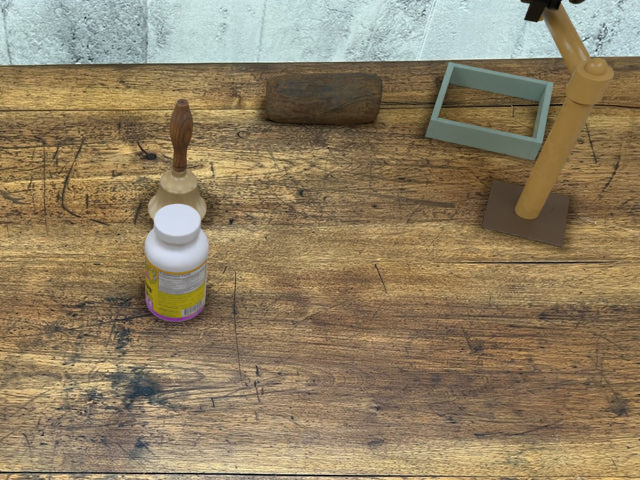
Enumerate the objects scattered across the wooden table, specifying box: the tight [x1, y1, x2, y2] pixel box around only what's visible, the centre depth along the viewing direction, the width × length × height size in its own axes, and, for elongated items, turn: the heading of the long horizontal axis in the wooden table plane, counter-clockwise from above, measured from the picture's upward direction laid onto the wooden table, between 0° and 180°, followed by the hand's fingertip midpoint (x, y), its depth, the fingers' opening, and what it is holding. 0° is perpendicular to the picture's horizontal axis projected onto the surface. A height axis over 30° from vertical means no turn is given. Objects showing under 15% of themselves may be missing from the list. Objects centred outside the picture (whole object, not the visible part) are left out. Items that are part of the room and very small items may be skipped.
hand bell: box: [147, 98, 207, 221], centre depth 94 cm, size 8×8×16 cm
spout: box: [538, 2, 615, 105], centre depth 88 cm, size 20×4×5 cm, turn 178°
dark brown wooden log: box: [263, 72, 384, 125], centre depth 108 cm, size 15×7×7 cm, turn 90°
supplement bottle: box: [144, 204, 210, 323], centre depth 86 cm, size 7×7×13 cm
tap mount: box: [481, 96, 595, 248], centre depth 91 cm, size 9×9×17 cm
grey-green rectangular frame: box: [424, 61, 555, 161], centre depth 107 cm, size 14×14×4 cm
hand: (535, 8), depth 91 cm, fingers closed
